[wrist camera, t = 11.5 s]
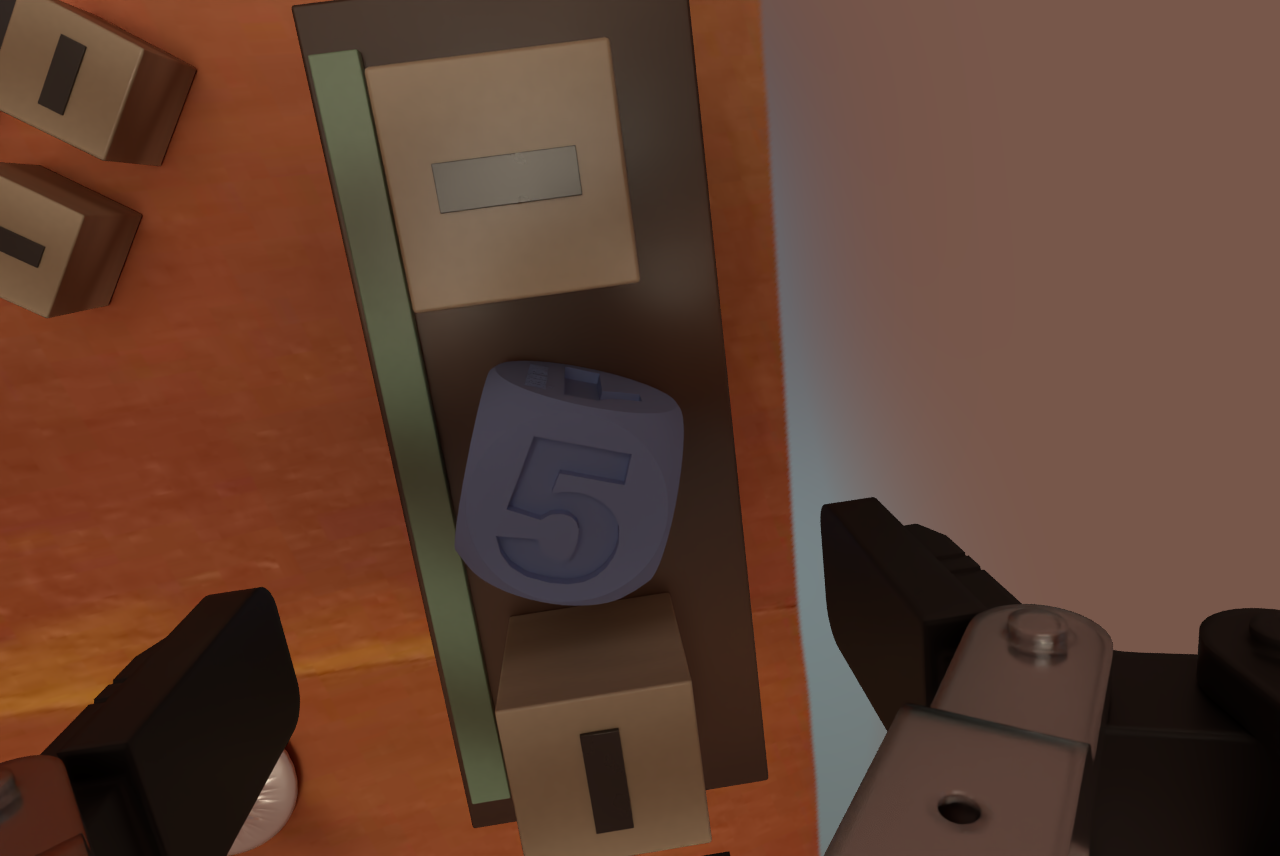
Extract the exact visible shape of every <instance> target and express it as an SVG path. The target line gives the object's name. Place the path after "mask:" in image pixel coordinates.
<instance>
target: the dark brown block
mask: <svg viewBox="0 0 1280 856" xmlns="http://www.w3.org/2000/svg"><path fill="white" fill-rule="evenodd" d="M292 13H293V18H294V22H295V27H296V31H297V36H298V40H299V45H300V49H301V54H302V58H303V63H304V67H305V72H306V76H307V81H308V85H309V90H310V94H311V99H312V103H313V108H314V112H315V117H316V121H317V126H318V130H319V135H320V139H321V144H322V148H323V153H324V157H325V162H326V166H327V171H328V175H329V180H330V184H331V189H332V193H333V198H334V202H335V207H336V212H337V216H338V221H339V225H340V230H341V234H342V239H343V243H344V248H345V252H346V257H347V261H348V266H349V270H350V275H351V279H352V284H353V288H354V293H355V297H356V302H357V306H358V311H359V315H360V320H361V324H362V329H363V333H364V338H365V342H366V347H367V351H368V356H369V360H370V365H371V369H372V374H373V378H374V383H375V387H376V392H377V397H378V401H379V406H380V410H381V415H382V419H383V424H384V428H385V433H386V437H387V442H388V446H389V451H390V455H391V460H392V464H393V469H394V473H395V478H396V482H397V487H398V491H399V496H400V500H401V505H402V509H403V514H404V518H405V523H406V527H407V532H408V536H409V541H410V545H411V550H412V554H413V559H414V563H415V568H416V572H417V577H418V582H419V586H420V591H421V595H422V600H423V604H424V609H425V613H426V618H427V622H428V627H429V631H430V636H431V640H432V645H433V649H434V654H435V658H436V663H437V667H438V672H439V676H440V681H441V685H442V690H443V694H444V699H445V703H446V708H447V712H448V717H449V721H450V726H451V730H452V735H453V739H454V744H455V748H456V753H457V757H458V762H459V766H460V771H461V776H462V780H463V785H464V789H465V794H466V798H467V803H468V807H469V812H470V816H471V821H472V825H473V827H474V828H478V827H484V826H490V825H497V824H503V823H509V822H515V821H517V824H518V829H519V834H520V839H521V844H522V849H523V854H524V856H632V855H637V854H643V853H649V852H655V851H661V850H667V849H673V848H679V847H685V846H691V845H697V844H703V843H709V842H711V839H712V838H711V830H710V822H709V814H708V806H707V798H706V790H709V789H715V788H721V787H727V786H733V785H739V784H745V783H751V782H757V781H763V780H767V779H768V769H767V760H766V750H765V740H764V730H763V720H762V711H761V701H760V691H759V681H758V672H757V662H756V652H755V642H754V632H753V623H752V613H751V603H750V593H749V583H748V574H747V564H746V554H745V544H744V535H743V525H742V515H741V505H740V495H739V486H738V476H737V466H736V456H735V446H734V437H733V427H732V417H731V407H730V398H729V388H728V378H727V368H726V358H725V349H724V339H723V329H722V319H721V309H720V300H719V290H718V280H717V270H716V261H715V251H714V241H713V231H712V221H711V212H710V202H709V192H708V182H707V172H706V163H705V153H704V143H703V133H702V124H701V114H700V104H699V94H698V84H697V75H696V65H695V55H694V45H693V35H692V26H691V16H690V6H689V0H333V1H325V2H317V3H309V4H301V5H294V6H292ZM510 361H541V362H551V363H559V364H566V365H573V366H579V367H584V368H589V369H594V370H598V371H602V372H606V373H610V374H614V375H618V376H621V377H625V378H628V379H631V380H634V381H637V382H640V383H643V384H646V385H648V386H651V387H653V388H655V389H658V390H660V391H662V392H664V393H665V394H667V395H669V396H670V397H672V398H673V399H674V400H675V401H676V403H677V404H678V406H679V407H680V409H681V411H682V415H683V425H684V441H683V456H682V466H681V474H680V482H679V488H678V494H677V500H676V505H675V510H674V515H673V519H672V524H671V528H670V532H669V536H668V539H667V543H666V546H665V549H664V553H663V556H662V558H661V561H660V564H659V566H658V568H657V570H656V572H655V574H654V576H653V577H652V579H651V580H650V581H648V582H647V583H646V584H644V585H643V586H641V587H640V588H638V589H637V590H635V591H634V592H632V593H630V594H628V595H626V596H624V597H622V598H620V599H618V600H615V601H612V602H608V603H603V604H597V605H585V606H573V605H559V604H551V603H545V602H539V601H535V600H531V599H527V598H523V597H520V596H517V595H514V594H511V593H508V592H506V591H503V590H501V589H499V588H497V587H495V586H493V585H491V584H489V583H488V582H486V581H484V580H483V579H481V578H480V577H479V576H477V575H476V574H475V573H474V572H473V571H472V570H471V569H470V568H469V567H468V566H467V564H466V563H465V562H464V561H463V559H462V558H461V557H460V555H459V554H458V553H457V552H456V550H455V532H456V524H457V517H458V510H459V503H460V497H461V491H462V486H463V480H464V474H465V469H466V464H467V459H468V454H469V449H470V444H471V439H472V434H473V430H474V425H475V420H476V416H477V412H478V408H479V403H480V399H481V395H482V392H483V388H484V385H485V381H486V378H487V375H488V373H489V371H490V370H491V369H492V368H494V367H495V366H497V365H498V364H501V363H504V362H510Z"/></svg>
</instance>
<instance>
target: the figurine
mask: <svg viewBox="0 0 1280 856" xmlns="http://www.w3.org/2000/svg"><path fill="white" fill-rule="evenodd" d="M297 795H298V779H297V775H296V772H295V767H294V764H293V762H292V761H291V759H290V757H289V754H288V752H287V751H286V750H285V749H284V750H283V752H282V754H281V756H280V758H279V760H278V761H277V763H276V765H275V767H274V769H273V771H272V773H271V774H270V776H269V778H268V780H267V782H266V784H265V786H264V787H263V789H262V791H261V793H260V795H259V797H258V799H257V800H256V802H255V804H254V806H253V808H252V810H251V812H250V813H249V815H248V817H247V819H246V821H245V823H244V825H243V826H242V828H241V830H240V832H239V834H238V836H237V837H236V839H235V841H234V843H233V845H232V847H231V849H230V850H229V852H228V854H227V856H229V855H235V854H239V853H243V852H246V851H249V850H251V849H254V848H256V847H258V846H260V845H262V844H264V843H265V842H267V841H268V840H270V839H271V838H272V837H274V836H275V835H276V834H277V833H278V832H279V831H280V830H281V829H282V828H283V826H284V825H285V824H286V823H287V821H288V820H289V818H290V816H291V814H292V812H293V810H294V808H295V804H296V799H297Z"/></svg>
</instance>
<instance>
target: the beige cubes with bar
mask: <svg viewBox="0 0 1280 856" xmlns="http://www.w3.org/2000/svg"><path fill="white" fill-rule="evenodd" d="M195 72H196V68H195V67H194V66H192V65H190V64H188V63H186V62H184V61H182V60H180V59H178V58H176V57H174V56H172V55H171V54H169V53H167V52H165V51H163V50H161V49H159V48H157V47H155V46H153V45H151V44H149V43H147V42H146V41H144V40H142V39H140V38H138V37H136V36H134V35H132V34H130V33H128V32H126V31H124V30H122V29H121V28H119V27H117V26H115V25H113V24H111V23H109V22H107V21H105V20H103V19H101V18H99V17H97V16H96V15H94V14H92V13H89V12H87V11H84V10H82V9H79V8H77V7H74V6H72V5H69V4H67V3H64V2H62V1H59V0H0V111H2V112H4V113H6V114H9V115H11V116H13V117H15V118H17V119H19V120H21V121H23V122H25V123H27V124H29V125H31V126H33V127H35V128H37V129H39V130H41V131H43V132H45V133H47V134H50V135H52V136H54V137H56V138H58V139H60V140H62V141H64V142H66V143H68V144H70V145H72V146H74V147H76V148H78V149H80V150H82V151H84V152H86V153H88V154H91V155H93V156H95V157H97V158H99V159H101V160H104V161H114V162H124V163H134V164H144V165H154V166H160V165H161V163H162V160H163V157H164V155H165V152H166V149H167V147H168V144H169V141H170V139H171V136H172V133H173V131H174V128H175V125H176V123H177V120H178V117H179V115H180V112H181V109H182V107H183V104H184V101H185V99H186V96H187V93H188V91H189V88H190V85H191V83H192V80H193V77H194V75H195ZM141 217H142V215H141V214H140V213H138V212H136V211H134V210H132V209H130V208H127V207H125V206H123V205H121V204H119V203H117V202H115V201H113V200H111V199H109V198H107V197H104V196H102V195H100V194H98V193H96V192H94V191H92V190H90V189H88V188H86V187H84V186H82V185H79V184H77V183H75V182H73V181H71V180H69V179H67V178H65V177H63V176H61V175H59V174H57V173H54V172H52V171H50V170H48V169H46V168H44V167H42V166H40V165H29V164H16V163H4V162H0V298H3V299H5V300H7V301H9V302H12V303H14V304H16V305H18V306H21V307H23V308H25V309H27V310H30V311H32V312H34V313H36V314H39V315H41V316H43V317H45V318H51V317H55V316H60V315H65V314H70V313H74V312H79V311H84V310H89V309H93V308H98V307H103V306H107V305H109V302H110V299H111V297H112V294H113V291H114V289H115V286H116V283H117V281H118V278H119V275H120V273H121V270H122V267H123V265H124V262H125V259H126V257H127V254H128V251H129V249H130V246H131V243H132V241H133V238H134V235H135V233H136V230H137V227H138V225H139V222H140V219H141Z"/></svg>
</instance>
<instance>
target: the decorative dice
mask: <svg viewBox="0 0 1280 856" xmlns="http://www.w3.org/2000/svg"><path fill="white" fill-rule="evenodd" d="M683 441H684V425H683V415H682V411H681V409H680V407H679V406H678V404H677V403H676V401H675V400H674V399H673V398H672V397H670V396H669V395H667V394H665V393H664V392H662V391H660V390H658V389H655V388H653V387H651V386H648V385H646V384H643V383H640V382H637V381H634V380H631V379H628V378H625V377H621V376H618V375H614V374H610V373H606V372H602V371H598V370H594V369H589V368H584V367H579V366H573V365H566V364H559V363H551V362H541V361H510V362H504V363H501V364H498V365H497V366H495V367H494V368H492V369H491V370H490V371H489V373H488V375H487V378H486V381H485V385H484V388H483V392H482V395H481V399H480V403H479V408H478V412H477V416H476V420H475V425H474V430H473V434H472V439H471V444H470V449H469V454H468V459H467V464H466V469H465V474H464V480H463V486H462V491H461V497H460V503H459V510H458V517H457V524H456V532H455V550H456V552H457V553H458V554H459V555H460V557H461V558H462V559H463V561H464V562H465V563H466V564H467V566H468V567H469V568H470V569H471V570H472V571H473V572H474V573H475V574H476V575H477V576H479V577H480V578H481V579H483V580H484V581H486V582H488V583H489V584H491V585H493V586H495V587H497V588H499V589H501V590H503V591H506V592H508V593H511V594H514V595H517V596H520V597H523V598H527V599H531V600H535V601H539V602H545V603H551V604H559V605H573V606H585V605H597V604H603V603H608V602H612V601H615V600H618V599H620V598H622V597H624V596H626V595H628V594H630V593H632V592H634V591H635V590H637V589H638V588H640V587H641V586H643V585H644V584H646V583H647V582H648V581H650V580H651V579H652V577H653V576H654V574H655V572H656V570H657V568H658V566H659V564H660V561H661V558H662V556H663V553H664V549H665V546H666V543H667V539H668V536H669V532H670V528H671V524H672V519H673V515H674V510H675V505H676V500H677V494H678V488H679V482H680V474H681V466H682V456H683Z"/></svg>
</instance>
